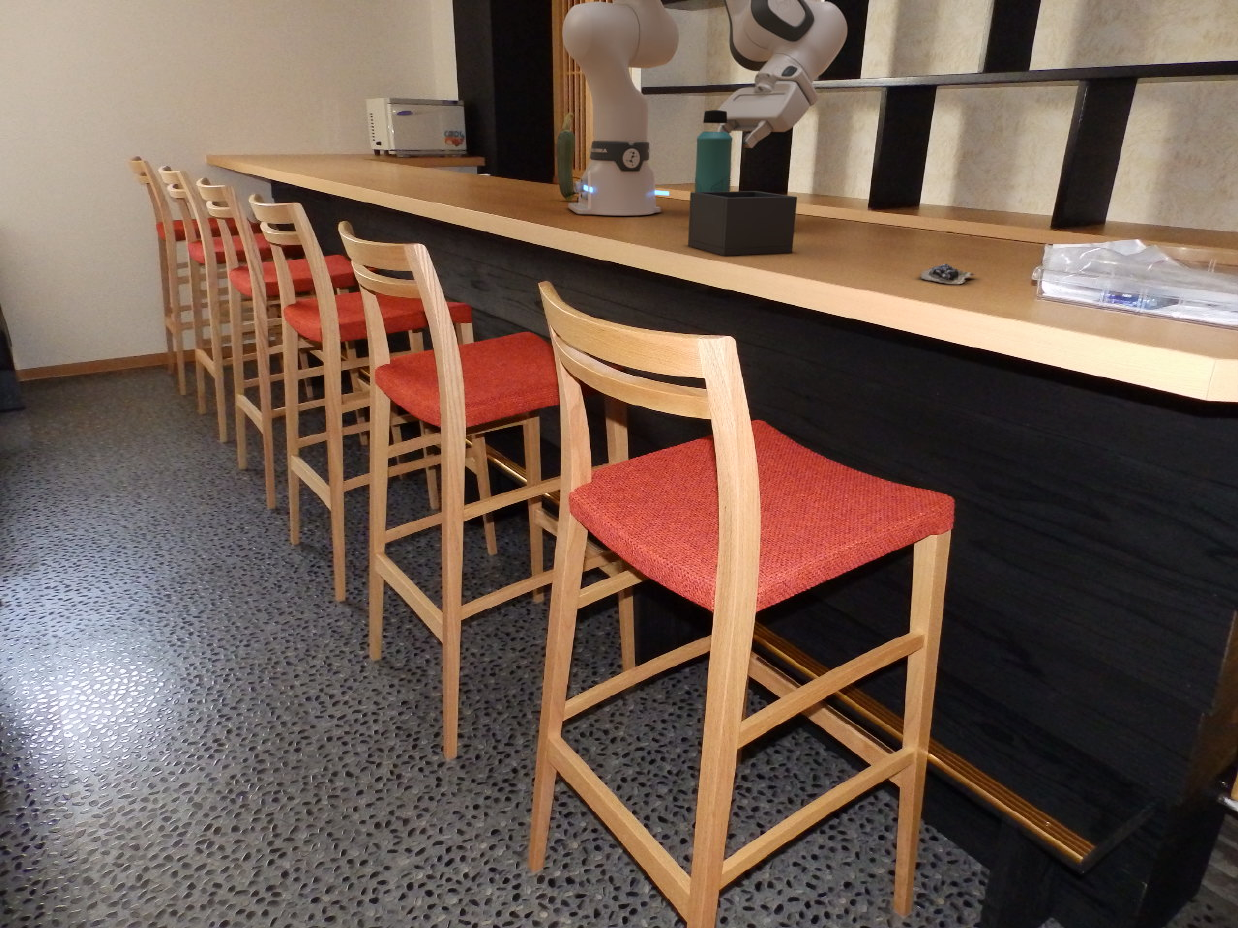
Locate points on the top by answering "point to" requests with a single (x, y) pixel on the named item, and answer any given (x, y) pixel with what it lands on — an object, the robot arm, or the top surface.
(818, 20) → the robot arm
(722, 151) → the beverage bottle
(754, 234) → the box
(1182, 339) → the top surface
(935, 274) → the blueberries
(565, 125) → the vegetable
